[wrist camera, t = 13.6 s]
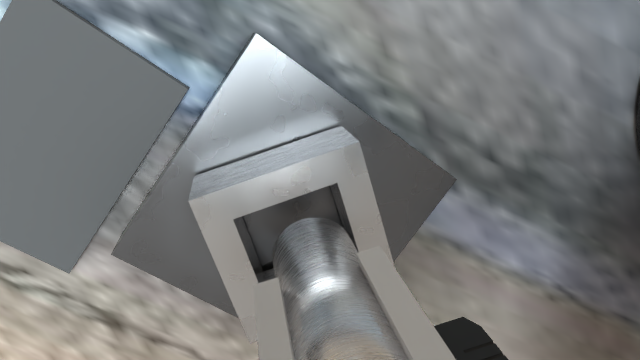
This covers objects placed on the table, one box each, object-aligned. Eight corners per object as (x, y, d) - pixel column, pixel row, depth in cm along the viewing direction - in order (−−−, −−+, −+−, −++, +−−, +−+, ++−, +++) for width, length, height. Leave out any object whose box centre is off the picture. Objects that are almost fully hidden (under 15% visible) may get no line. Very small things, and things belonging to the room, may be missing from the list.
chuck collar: (194, 176, 20) (188, 201, 17) (341, 125, 20) (359, 141, 17) (305, 440, 25) (314, 493, 22) (420, 395, 25) (444, 442, 22)
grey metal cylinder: (305, 201, 17) (409, 471, 7) (368, 244, 18) (546, 540, 8) (255, 265, 17) (282, 611, 7) (320, 304, 18) (425, 660, 8)
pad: (28, -18, 19) (22, -19, 18) (189, 87, 21) (188, 89, 20) (-88, 190, 20) (-98, 195, 19) (73, 267, 22) (69, 273, 22)
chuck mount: (253, 32, 21) (256, 33, 19) (439, 167, 24) (456, 179, 22) (121, 235, 22) (111, 254, 20) (312, 333, 26) (319, 358, 24)
